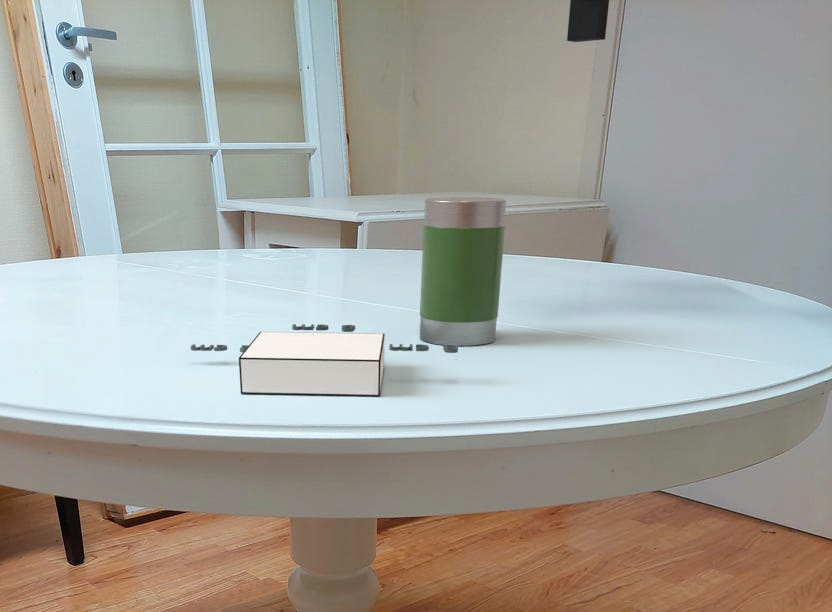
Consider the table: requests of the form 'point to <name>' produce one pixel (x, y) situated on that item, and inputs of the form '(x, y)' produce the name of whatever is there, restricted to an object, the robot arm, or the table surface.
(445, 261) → the can
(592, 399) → the table surface
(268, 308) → the table surface
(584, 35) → the robot arm
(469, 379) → the table surface
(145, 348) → the table surface
